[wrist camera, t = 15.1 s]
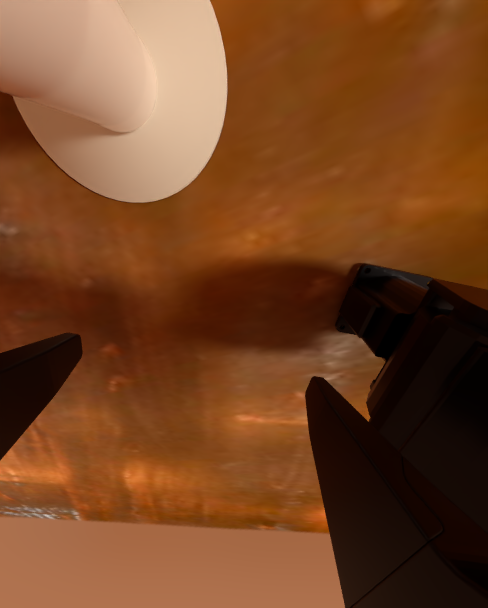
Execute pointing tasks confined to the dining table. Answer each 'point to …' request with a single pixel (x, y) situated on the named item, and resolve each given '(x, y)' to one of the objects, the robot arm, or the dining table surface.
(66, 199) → the dining table surface
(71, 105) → the drinking glass
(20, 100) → the cream flat disc
